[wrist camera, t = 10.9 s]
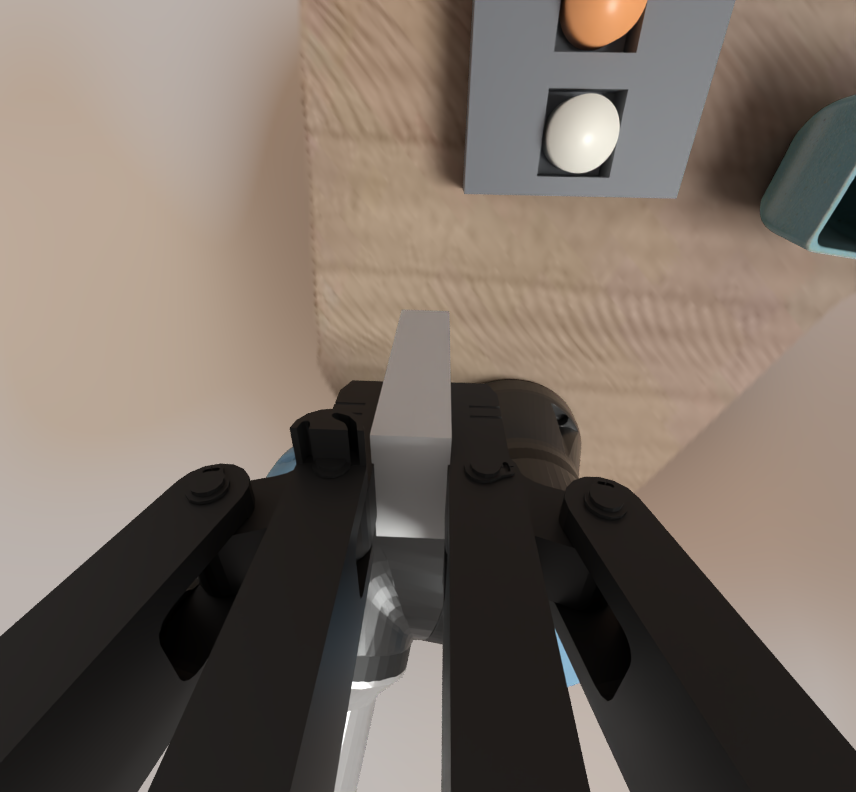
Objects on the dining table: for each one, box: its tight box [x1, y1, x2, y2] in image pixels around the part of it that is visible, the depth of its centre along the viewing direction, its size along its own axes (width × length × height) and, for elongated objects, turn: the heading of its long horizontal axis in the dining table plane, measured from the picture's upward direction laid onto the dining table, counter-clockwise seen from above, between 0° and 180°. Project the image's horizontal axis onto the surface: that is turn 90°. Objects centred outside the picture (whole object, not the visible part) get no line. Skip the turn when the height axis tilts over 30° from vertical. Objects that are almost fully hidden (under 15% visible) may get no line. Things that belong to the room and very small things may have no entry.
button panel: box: [463, 0, 735, 198], centre depth 26 cm, size 21×15×4 cm
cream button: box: [542, 93, 620, 173], centre depth 28 cm, size 4×4×3 cm
